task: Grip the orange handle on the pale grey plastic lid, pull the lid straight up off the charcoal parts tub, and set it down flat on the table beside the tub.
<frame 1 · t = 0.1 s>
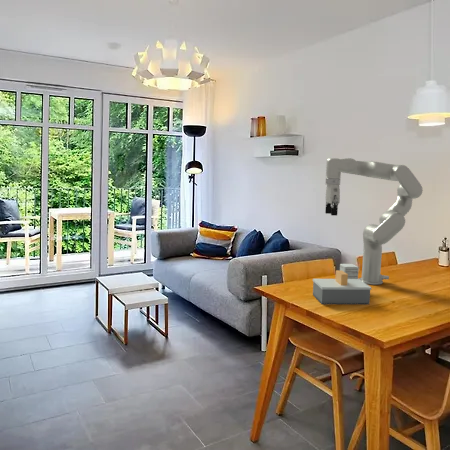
hand: (331, 214, 237), 37 cm above the table, tool pointing down, fingers open, 9 cm apart
supplement box: (347, 289, 227), on the table
tub: (340, 299, 208), on the table
lid: (340, 286, 207), point 6 cm above the table, touching tub
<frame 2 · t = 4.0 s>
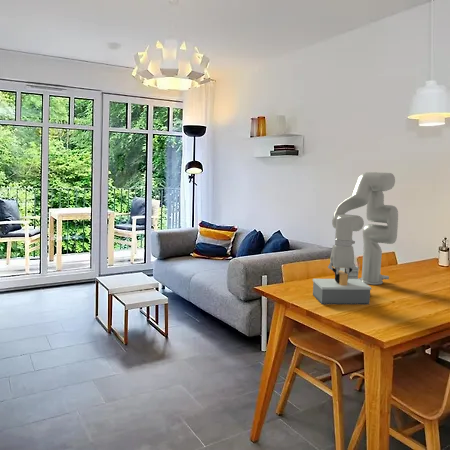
hand: (341, 281, 207), 9 cm above the table, tool pointing down, fingers closed on lid, 3 cm apart
lid: (340, 286, 207), point 6 cm above the table, touching gripper, tub
everything else where it was.
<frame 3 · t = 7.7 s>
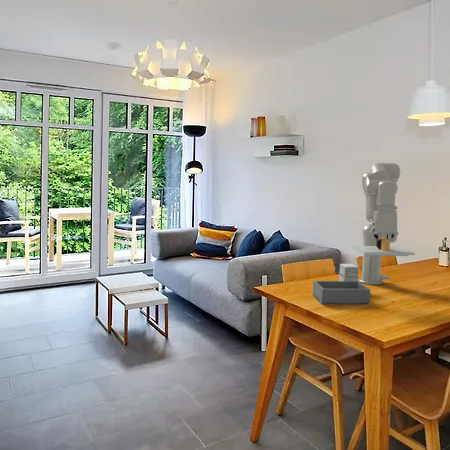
hand: (382, 248, 205), 25 cm above the table, tool pointing down, fingers closed on lid, 3 cm apart
lid: (382, 253, 205), point 23 cm above the table, touching gripper
everything else where it was.
when the fingers open (4 cm above the table, at t = 11.4 s): lid drops 2 cm, on the table.
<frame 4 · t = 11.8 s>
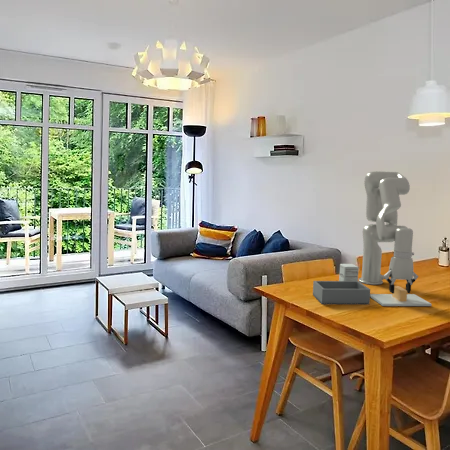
hand: (399, 292, 207), 4 cm above the table, tool pointing down, fingers open, 7 cm apart
lid: (398, 302, 207), on the table
everything else where it was.
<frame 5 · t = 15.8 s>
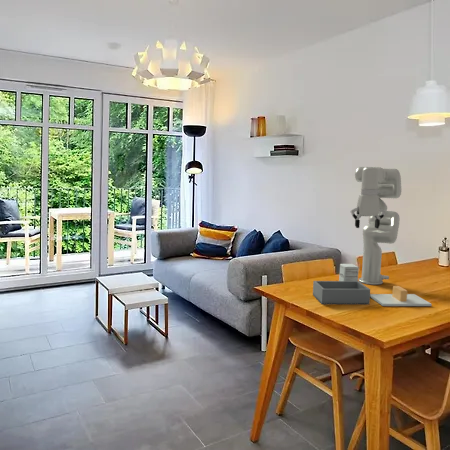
hand: (367, 227, 218), 32 cm above the table, tool pointing down, fingers open, 9 cm apart
nothing on the table moved.
at the end: lid inside the target area (0.0 cm from its centre), on the table; lid touching table; lid tilted 0° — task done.
